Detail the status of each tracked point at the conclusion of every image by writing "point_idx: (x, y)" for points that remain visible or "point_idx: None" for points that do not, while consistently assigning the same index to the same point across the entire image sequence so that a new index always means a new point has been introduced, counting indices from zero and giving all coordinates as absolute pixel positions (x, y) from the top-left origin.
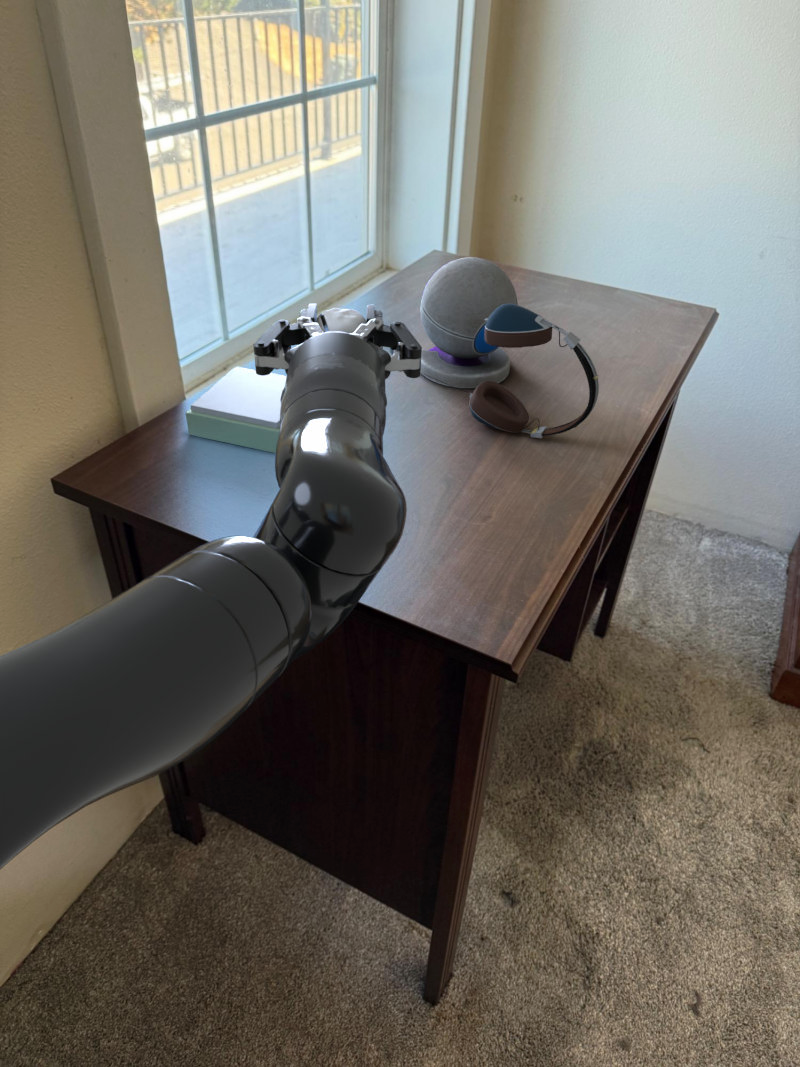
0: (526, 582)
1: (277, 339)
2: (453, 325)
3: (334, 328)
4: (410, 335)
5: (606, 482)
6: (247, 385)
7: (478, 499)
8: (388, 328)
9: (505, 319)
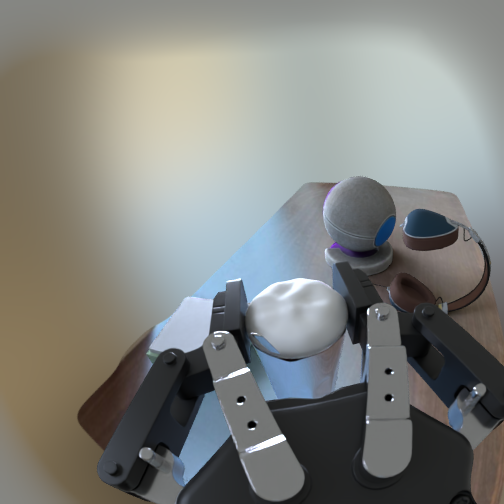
0: (487, 486)
1: (156, 429)
2: (358, 230)
3: (289, 344)
4: (476, 345)
5: (501, 343)
6: (194, 317)
7: (430, 405)
8: (406, 321)
9: (425, 225)
